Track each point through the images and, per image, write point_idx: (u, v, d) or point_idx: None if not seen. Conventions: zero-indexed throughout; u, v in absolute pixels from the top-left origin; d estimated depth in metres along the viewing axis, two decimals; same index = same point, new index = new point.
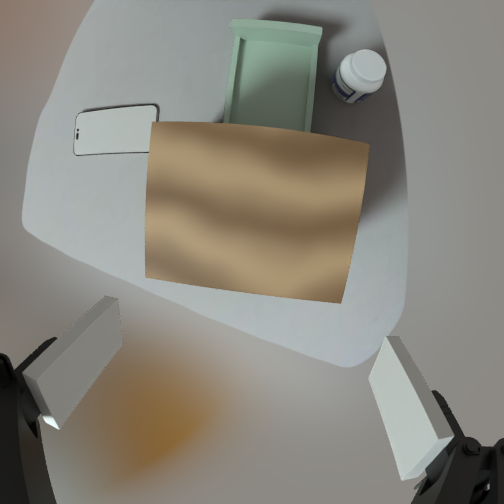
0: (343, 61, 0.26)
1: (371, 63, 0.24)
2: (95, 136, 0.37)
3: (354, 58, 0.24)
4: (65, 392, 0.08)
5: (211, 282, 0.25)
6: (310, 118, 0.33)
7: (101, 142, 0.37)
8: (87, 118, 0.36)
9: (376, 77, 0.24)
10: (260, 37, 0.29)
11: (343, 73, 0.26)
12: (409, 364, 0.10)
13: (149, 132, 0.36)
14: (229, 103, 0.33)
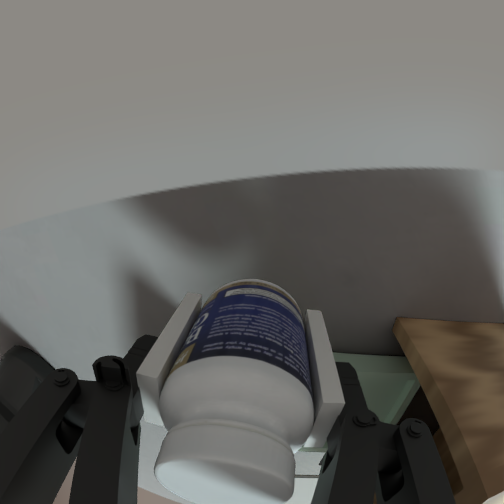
0: None
1: (215, 488, 0.06)
2: None
3: None
4: None
5: None
6: None
7: (305, 502, 0.29)
8: None
9: (276, 487, 0.05)
10: None
11: None
12: (320, 334, 0.12)
13: (310, 480, 0.27)
14: (302, 448, 0.22)
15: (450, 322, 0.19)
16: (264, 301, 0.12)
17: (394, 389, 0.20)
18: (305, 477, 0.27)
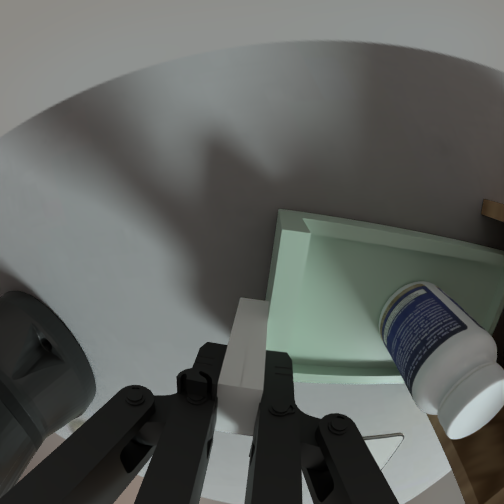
0: None
1: (478, 414, 0.08)
2: None
3: (499, 409, 0.08)
4: None
5: None
6: (461, 248, 0.15)
7: None
8: None
9: (487, 391, 0.08)
10: None
11: None
12: (259, 323, 0.12)
13: (381, 442, 0.23)
14: None
15: None
16: (394, 327, 0.15)
17: (491, 285, 0.16)
18: (376, 438, 0.23)
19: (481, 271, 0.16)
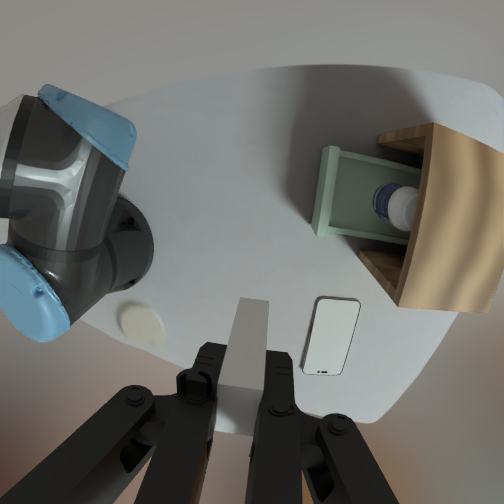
0: None
1: None
2: (331, 354, 0.45)
3: None
4: None
5: (502, 262, 0.23)
6: (407, 167, 0.34)
7: (338, 349, 0.45)
8: (311, 363, 0.46)
9: (416, 199, 0.27)
10: None
11: None
12: (260, 323, 0.12)
13: (343, 305, 0.43)
14: (390, 238, 0.37)
15: None
16: (377, 197, 0.34)
17: None
18: (338, 299, 0.42)
19: None
